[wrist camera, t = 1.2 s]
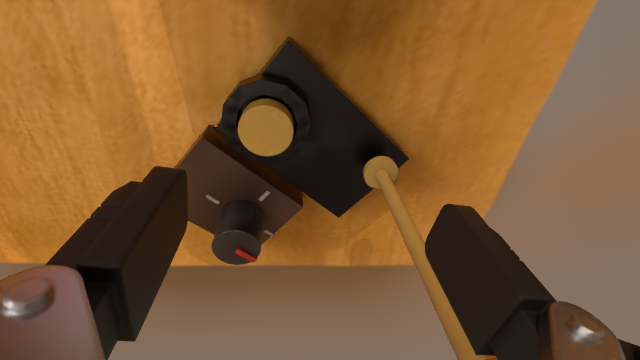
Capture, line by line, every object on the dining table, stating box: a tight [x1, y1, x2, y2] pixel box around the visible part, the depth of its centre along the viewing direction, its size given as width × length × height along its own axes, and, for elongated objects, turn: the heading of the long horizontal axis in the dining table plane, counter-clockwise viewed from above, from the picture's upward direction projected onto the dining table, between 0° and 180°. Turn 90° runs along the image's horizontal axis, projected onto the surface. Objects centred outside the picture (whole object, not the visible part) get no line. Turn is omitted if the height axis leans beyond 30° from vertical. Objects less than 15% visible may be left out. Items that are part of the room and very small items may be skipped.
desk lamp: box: [363, 156, 497, 360], centre depth 18 cm, size 9×9×26 cm
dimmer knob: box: [212, 200, 264, 265], centre depth 29 cm, size 4×4×5 cm
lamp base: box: [216, 37, 409, 217], centre depth 28 cm, size 17×10×4 cm, turn 46°
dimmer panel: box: [174, 125, 303, 244], centre depth 32 cm, size 12×9×3 cm
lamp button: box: [238, 98, 293, 156], centre depth 25 cm, size 4×4×2 cm
